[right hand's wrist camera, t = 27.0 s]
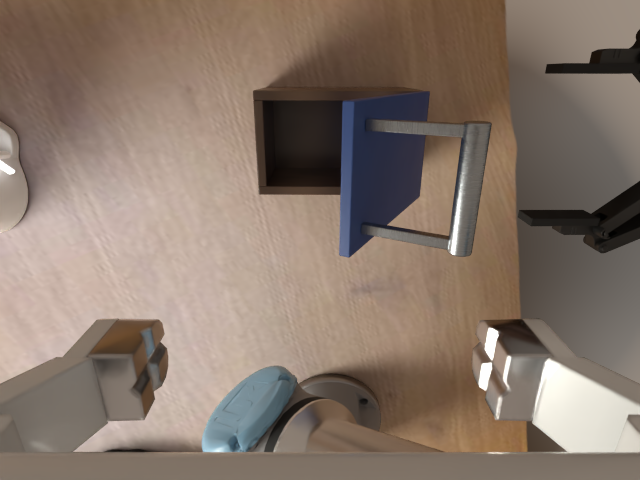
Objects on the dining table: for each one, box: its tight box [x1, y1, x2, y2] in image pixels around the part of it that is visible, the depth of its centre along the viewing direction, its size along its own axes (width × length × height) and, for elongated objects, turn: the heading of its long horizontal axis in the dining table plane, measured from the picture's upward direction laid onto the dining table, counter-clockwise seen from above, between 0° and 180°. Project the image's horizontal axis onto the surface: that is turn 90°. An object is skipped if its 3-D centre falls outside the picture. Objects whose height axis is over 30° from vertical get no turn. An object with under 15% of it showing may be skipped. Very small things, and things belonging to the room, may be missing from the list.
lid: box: [339, 91, 491, 257], centre depth 31 cm, size 17×10×8 cm
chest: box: [253, 87, 421, 195], centre depth 44 cm, size 16×10×10 cm, turn 90°
